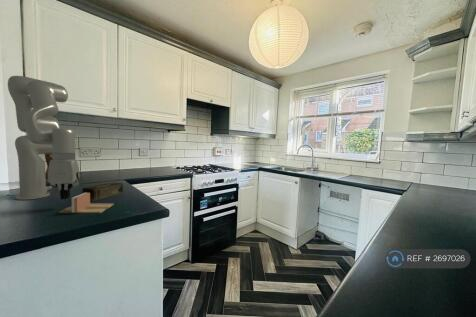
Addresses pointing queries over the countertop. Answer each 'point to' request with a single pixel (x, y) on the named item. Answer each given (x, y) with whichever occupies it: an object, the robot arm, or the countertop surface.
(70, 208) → the mat
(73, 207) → the slab
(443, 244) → the countertop surface
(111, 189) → the beverage carton
